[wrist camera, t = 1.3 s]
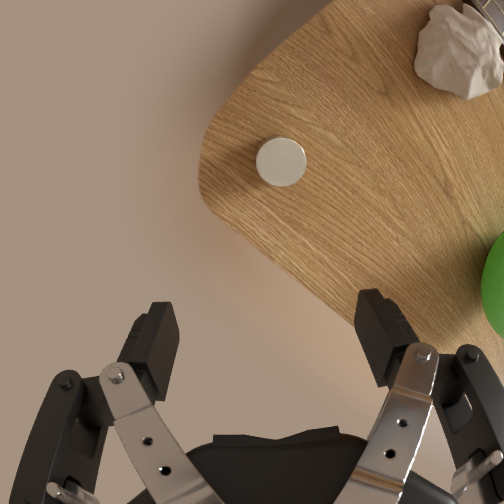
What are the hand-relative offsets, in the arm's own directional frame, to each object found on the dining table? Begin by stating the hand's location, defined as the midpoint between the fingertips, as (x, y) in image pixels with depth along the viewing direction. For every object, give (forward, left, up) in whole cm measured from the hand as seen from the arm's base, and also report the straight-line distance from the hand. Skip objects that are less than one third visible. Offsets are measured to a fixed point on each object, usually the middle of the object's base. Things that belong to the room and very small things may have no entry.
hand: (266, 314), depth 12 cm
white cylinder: (-1, +4, -16) cm, 17 cm away
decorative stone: (+5, +28, -16) cm, 32 cm away
